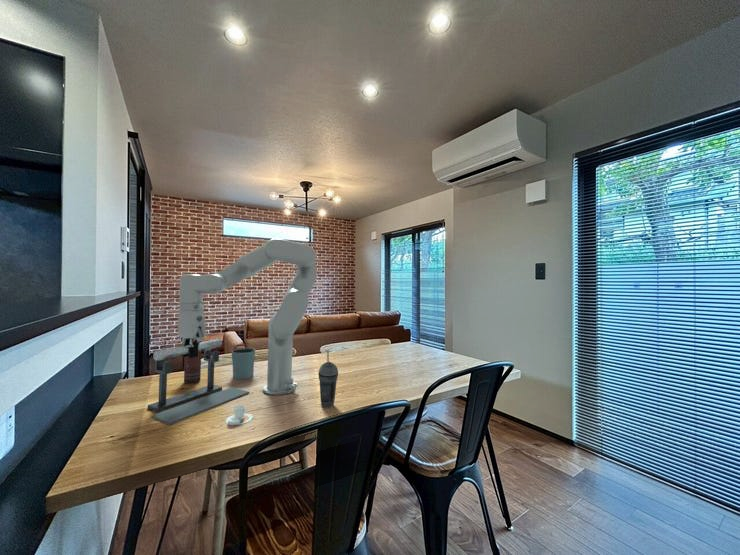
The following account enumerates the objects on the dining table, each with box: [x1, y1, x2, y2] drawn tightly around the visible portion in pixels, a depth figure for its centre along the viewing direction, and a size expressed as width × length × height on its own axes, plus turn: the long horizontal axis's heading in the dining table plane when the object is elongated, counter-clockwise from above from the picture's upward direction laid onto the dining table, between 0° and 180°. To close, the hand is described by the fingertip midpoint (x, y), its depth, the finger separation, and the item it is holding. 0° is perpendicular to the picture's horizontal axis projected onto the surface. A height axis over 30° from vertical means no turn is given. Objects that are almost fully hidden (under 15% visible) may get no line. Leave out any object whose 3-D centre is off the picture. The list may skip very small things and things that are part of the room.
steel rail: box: [152, 338, 223, 361], centre depth 112 cm, size 24×3×3 cm, turn 153°
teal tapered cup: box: [231, 347, 256, 380], centre depth 139 cm, size 10×10×12 cm
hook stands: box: [147, 348, 223, 413], centre depth 112 cm, size 6×24×16 cm, turn 153°
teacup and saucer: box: [225, 405, 254, 426], centre depth 97 cm, size 9×8×4 cm
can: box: [183, 351, 202, 385], centre depth 130 cm, size 6×6×14 cm
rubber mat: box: [150, 386, 250, 426], centre depth 107 cm, size 10×30×1 cm, turn 153°
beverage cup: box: [317, 349, 339, 409], centre depth 109 cm, size 7×7×20 cm
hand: (190, 356), depth 112 cm, fingers closed on steel rail, 3 cm apart
